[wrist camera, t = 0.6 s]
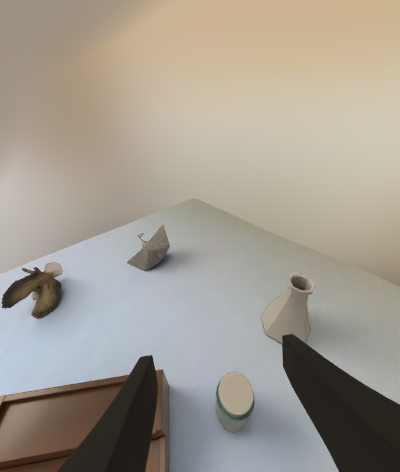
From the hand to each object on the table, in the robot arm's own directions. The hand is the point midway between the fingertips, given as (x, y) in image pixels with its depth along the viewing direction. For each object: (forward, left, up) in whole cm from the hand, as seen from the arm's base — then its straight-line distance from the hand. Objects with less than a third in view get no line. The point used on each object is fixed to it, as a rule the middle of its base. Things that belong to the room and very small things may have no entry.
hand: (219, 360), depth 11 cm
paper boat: (+31, +9, -19) cm, 37 cm away
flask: (+11, -13, -19) cm, 25 cm away
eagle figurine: (+23, +29, -19) cm, 41 cm away
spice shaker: (+2, -2, -18) cm, 19 cm away
